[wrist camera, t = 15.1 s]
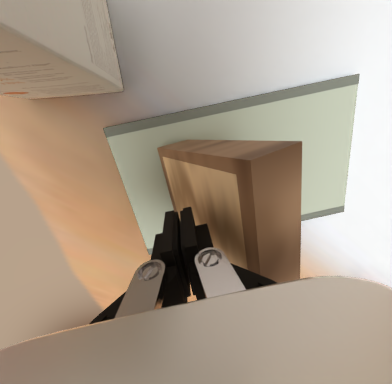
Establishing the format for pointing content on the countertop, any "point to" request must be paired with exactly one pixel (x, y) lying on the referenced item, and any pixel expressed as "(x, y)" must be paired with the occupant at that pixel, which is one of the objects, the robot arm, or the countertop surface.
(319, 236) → the countertop surface
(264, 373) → the robot arm
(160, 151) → the slab
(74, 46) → the small box
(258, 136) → the mat
